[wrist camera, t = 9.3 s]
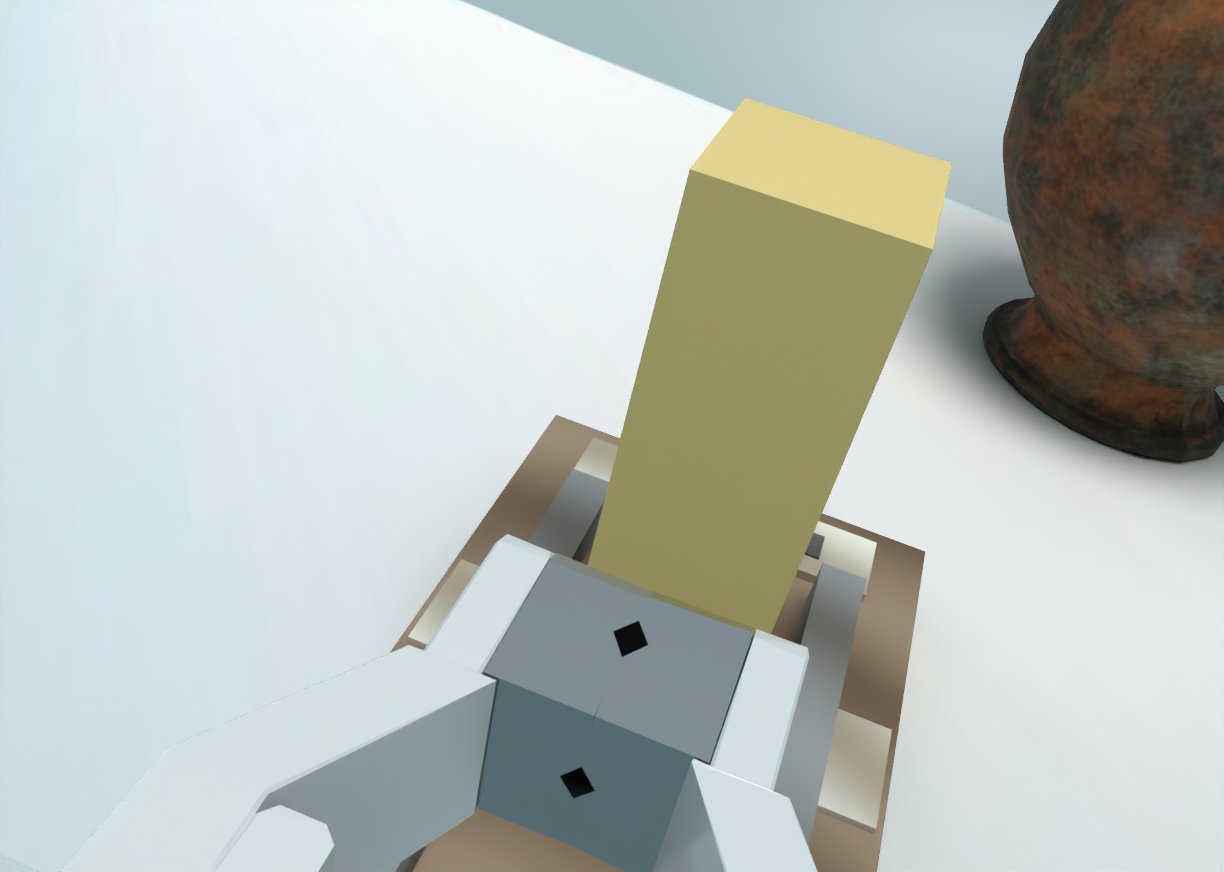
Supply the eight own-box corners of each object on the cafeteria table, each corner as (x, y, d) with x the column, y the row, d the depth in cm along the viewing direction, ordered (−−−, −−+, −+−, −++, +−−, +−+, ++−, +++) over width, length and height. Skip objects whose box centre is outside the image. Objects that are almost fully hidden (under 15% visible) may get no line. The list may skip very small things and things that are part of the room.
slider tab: (716, 790, 25) (942, 266, 17) (536, 715, 25) (669, 176, 17) (762, 640, 29) (964, 157, 20) (605, 579, 29) (741, 87, 21)
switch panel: (671, 1949, 14) (747, 1963, 12) (-134, 1482, 15) (-195, 1422, 13) (901, 597, 34) (944, 514, 32) (546, 463, 36) (564, 376, 34)
